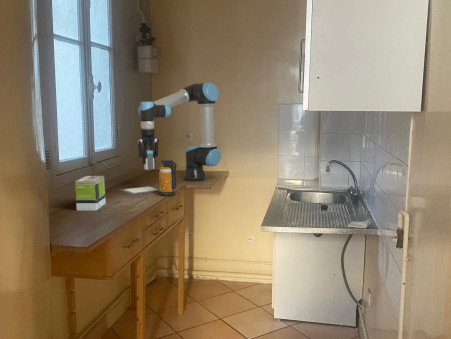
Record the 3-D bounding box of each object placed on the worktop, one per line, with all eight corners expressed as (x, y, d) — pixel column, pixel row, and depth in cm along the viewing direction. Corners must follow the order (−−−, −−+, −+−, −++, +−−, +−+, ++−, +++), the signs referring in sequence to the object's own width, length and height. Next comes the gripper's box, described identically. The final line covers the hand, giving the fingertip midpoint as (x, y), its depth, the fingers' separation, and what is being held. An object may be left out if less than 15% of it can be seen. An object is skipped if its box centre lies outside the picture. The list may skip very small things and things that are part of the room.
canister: (166, 192, 255) (166, 158, 252) (181, 194, 248) (180, 159, 245) (155, 195, 247) (155, 159, 245) (170, 197, 241) (169, 161, 238)
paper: (149, 186, 274) (149, 185, 274) (162, 190, 261) (162, 189, 261) (119, 190, 262) (119, 189, 262) (131, 194, 249) (131, 193, 249)
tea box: (86, 203, 224) (85, 175, 222) (106, 204, 224) (105, 175, 222) (75, 210, 210) (74, 180, 208) (96, 210, 209) (95, 180, 207)
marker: (150, 168, 258) (149, 150, 257) (153, 169, 256) (152, 150, 254) (144, 169, 256) (144, 150, 254) (147, 170, 253) (147, 151, 252)
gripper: (137, 129, 244) (139, 171, 248) (163, 128, 254) (165, 168, 258) (131, 129, 250) (133, 169, 254) (157, 127, 260) (158, 166, 264)
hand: (149, 168), depth 256 cm, fingers closed on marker, 4 cm apart
